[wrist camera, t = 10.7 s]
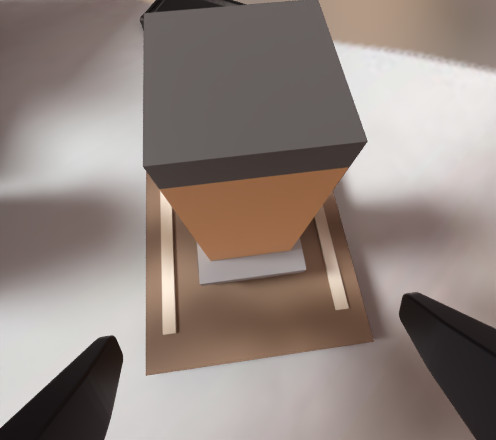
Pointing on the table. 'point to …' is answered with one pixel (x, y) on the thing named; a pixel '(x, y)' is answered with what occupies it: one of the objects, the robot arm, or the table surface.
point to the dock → (246, 298)
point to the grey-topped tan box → (246, 129)
